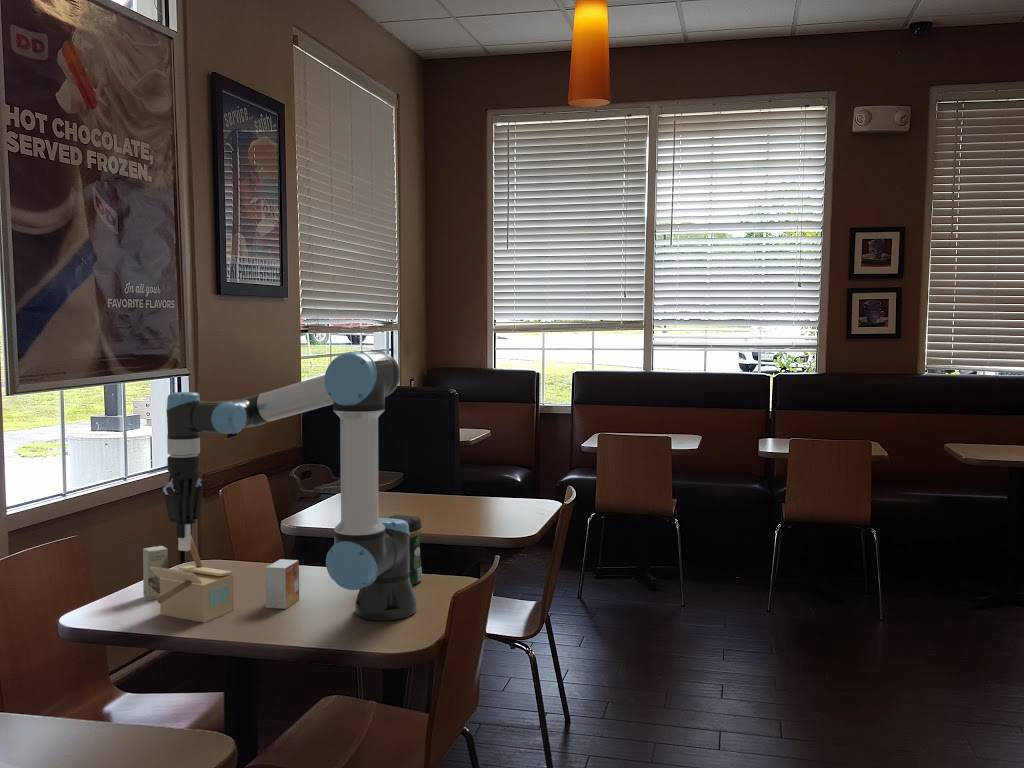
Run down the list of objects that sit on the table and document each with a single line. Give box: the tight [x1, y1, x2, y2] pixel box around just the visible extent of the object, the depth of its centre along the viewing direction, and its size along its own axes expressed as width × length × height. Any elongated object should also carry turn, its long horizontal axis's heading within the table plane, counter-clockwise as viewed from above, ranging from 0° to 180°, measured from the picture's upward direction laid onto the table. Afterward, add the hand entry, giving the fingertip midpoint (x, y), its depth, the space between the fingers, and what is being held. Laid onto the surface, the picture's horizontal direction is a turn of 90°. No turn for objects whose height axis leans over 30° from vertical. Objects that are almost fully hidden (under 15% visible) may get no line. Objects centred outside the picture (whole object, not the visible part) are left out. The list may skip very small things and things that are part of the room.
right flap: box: [178, 536, 233, 576], centre depth 217 cm, size 14×6×9 cm, turn 65°
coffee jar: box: [387, 514, 423, 586], centre depth 240 cm, size 10×8×19 cm
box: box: [142, 545, 169, 601], centre depth 227 cm, size 5×4×13 cm
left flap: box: [150, 566, 202, 604], centre depth 205 cm, size 14×6×9 cm
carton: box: [159, 570, 235, 623], centre depth 215 cm, size 14×10×9 cm
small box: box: [264, 558, 300, 610], centre depth 221 cm, size 8×6×10 cm
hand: (184, 550), depth 215 cm, fingers closed
